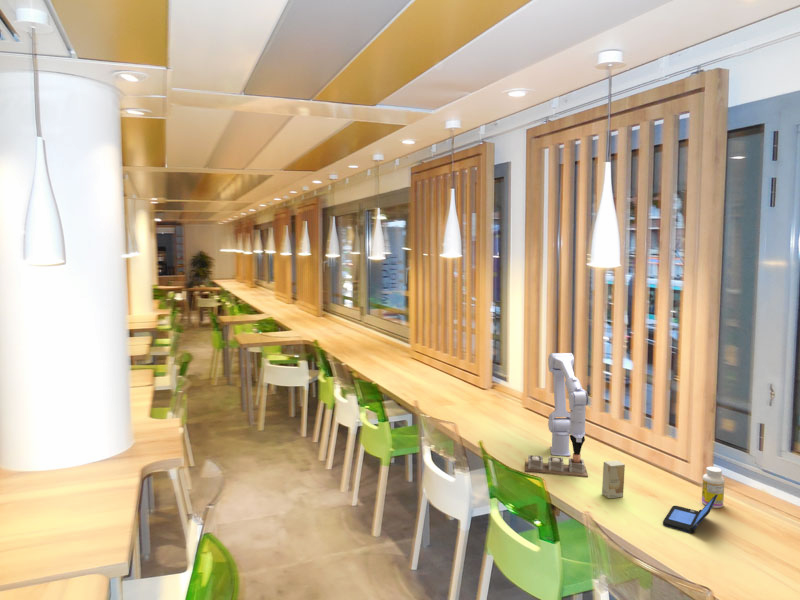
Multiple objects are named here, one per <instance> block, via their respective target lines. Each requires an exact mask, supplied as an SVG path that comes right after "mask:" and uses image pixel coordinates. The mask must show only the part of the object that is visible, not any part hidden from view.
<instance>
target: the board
mask: <svg viewBox="0 0 800 600" xmlns="http://www.w3.org/2000/svg"><path fill="white" fill-rule="evenodd" d="M533 456H534V455H530V454H529V455H528V461H527V460H526V461H524V463H525V471H524V472H525V473H534V474H542V475H543V474H545V475H546V474H547V475H557V476H567V477H568V476H569V477H582V478H589V474H588V471H587V466H586V465H585V461H584V459H583V458H581V459H580V463H573V457H571V458H568V464H564V457H558V456H556V457H555V456H548V462H544V458H543V455H536V456H537V457H539V460H532V457H533ZM552 458H558V459H560V462H555V461H552Z"/></svg>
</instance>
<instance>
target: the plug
mask: <svg viewBox="0 0 800 600" xmlns="http://www.w3.org/2000/svg"><path fill="white" fill-rule="evenodd" d="M537 456H538V455H533V457H532V460H539V457H537Z"/></svg>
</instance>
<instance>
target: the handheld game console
mask: <svg viewBox="0 0 800 600" xmlns="http://www.w3.org/2000/svg"><path fill="white" fill-rule="evenodd" d="M717 496H718V495H717V494H716V495H715V496H714V497H713V498H712V499H711V500H710V501H709V502H708V504H707V505H705V506H703V507H702V509H699V510H694V509H691V508H686V507H683V506H679V505H673V506H671V508H670V510H669V511H668V513H667V514H666V516H665V518H664V519H663V520H662V525H664V526H665V527H668V528H670V527H671V529H674V530H677V529H678V530H677V531H682V532H684V533H688V534H691V535H693V534H695V532H696V531H695V530H696V528H697V527H698V526H699V525H700V523H702V522H703V520H704V519H705V518H706V517H708V515H709V514H710V513H711V510H712V508H713V504H714V502H715V500H716V498H717Z"/></svg>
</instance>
